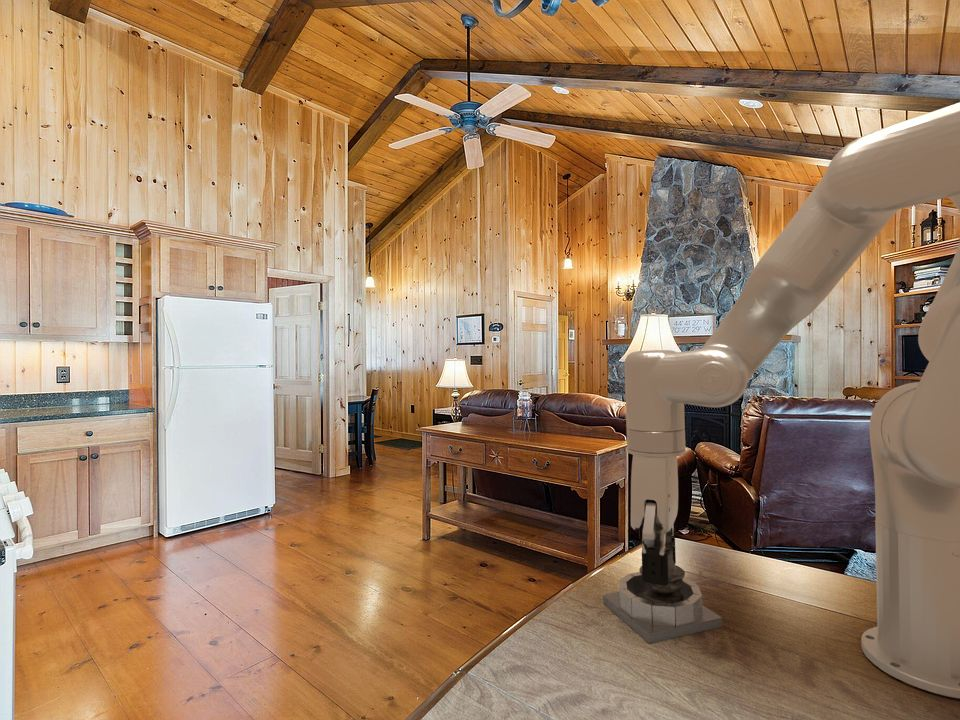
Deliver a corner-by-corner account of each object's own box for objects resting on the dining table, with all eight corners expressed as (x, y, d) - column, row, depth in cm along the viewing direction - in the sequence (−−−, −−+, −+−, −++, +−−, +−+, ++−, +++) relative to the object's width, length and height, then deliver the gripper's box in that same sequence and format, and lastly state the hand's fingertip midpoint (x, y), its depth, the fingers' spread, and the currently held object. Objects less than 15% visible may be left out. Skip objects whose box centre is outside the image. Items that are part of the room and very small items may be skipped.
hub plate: (668, 590, 79) (667, 565, 79) (722, 626, 68) (721, 598, 68) (603, 603, 75) (602, 577, 75) (649, 643, 65) (648, 613, 65)
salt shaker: (668, 612, 67) (664, 519, 67) (631, 595, 72) (627, 509, 72) (695, 598, 71) (691, 509, 70) (658, 583, 76) (654, 500, 75)
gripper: (639, 430, 81) (643, 547, 81) (612, 452, 65) (617, 595, 66) (692, 432, 77) (696, 554, 77) (676, 455, 62) (680, 607, 62)
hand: (659, 571), depth 72 cm, fingers closed on salt shaker, 5 cm apart
